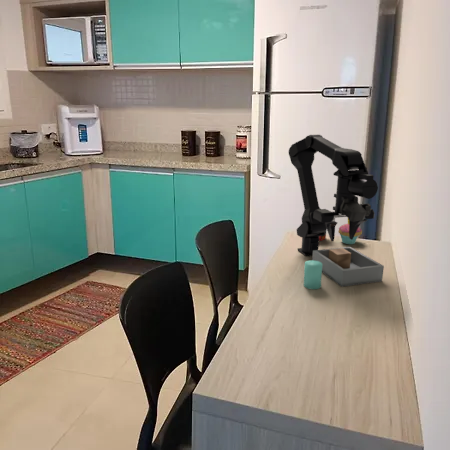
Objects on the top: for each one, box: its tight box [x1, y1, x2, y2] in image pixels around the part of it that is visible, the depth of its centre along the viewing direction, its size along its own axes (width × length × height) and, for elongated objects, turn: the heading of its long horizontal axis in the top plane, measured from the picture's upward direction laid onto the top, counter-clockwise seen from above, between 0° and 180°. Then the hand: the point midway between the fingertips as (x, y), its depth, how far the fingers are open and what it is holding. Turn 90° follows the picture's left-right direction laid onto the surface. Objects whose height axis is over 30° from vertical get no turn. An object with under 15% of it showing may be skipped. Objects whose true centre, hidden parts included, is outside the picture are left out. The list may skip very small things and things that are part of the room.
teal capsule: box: [303, 260, 323, 290], centre depth 129 cm, size 5×5×7 cm
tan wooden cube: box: [328, 247, 351, 269], centre depth 143 cm, size 5×5×5 cm
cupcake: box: [338, 218, 363, 245], centre depth 168 cm, size 9×8×12 cm
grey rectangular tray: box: [311, 246, 385, 288], centre depth 140 cm, size 18×14×5 cm
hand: (341, 240), depth 141 cm, fingers open, 6 cm apart
